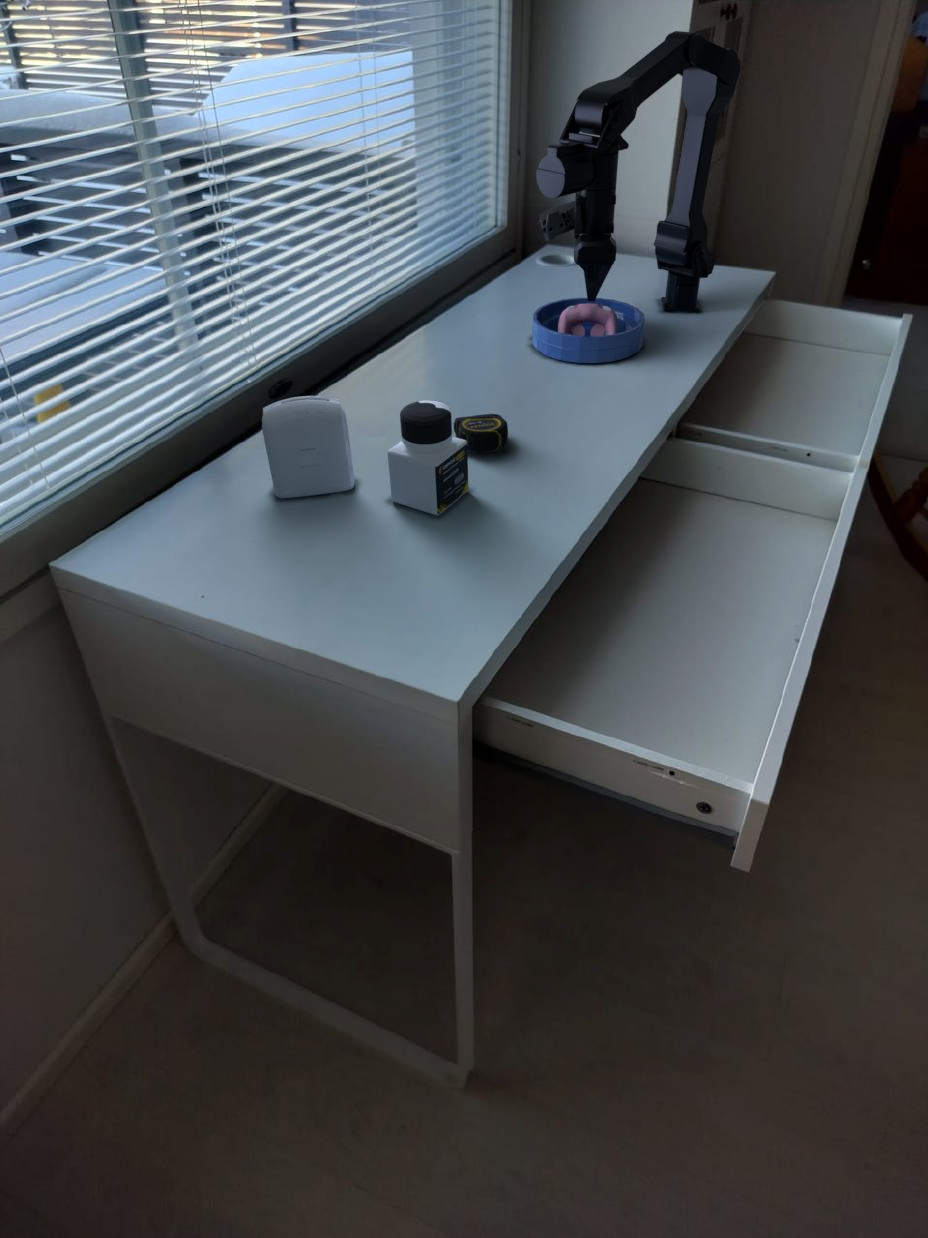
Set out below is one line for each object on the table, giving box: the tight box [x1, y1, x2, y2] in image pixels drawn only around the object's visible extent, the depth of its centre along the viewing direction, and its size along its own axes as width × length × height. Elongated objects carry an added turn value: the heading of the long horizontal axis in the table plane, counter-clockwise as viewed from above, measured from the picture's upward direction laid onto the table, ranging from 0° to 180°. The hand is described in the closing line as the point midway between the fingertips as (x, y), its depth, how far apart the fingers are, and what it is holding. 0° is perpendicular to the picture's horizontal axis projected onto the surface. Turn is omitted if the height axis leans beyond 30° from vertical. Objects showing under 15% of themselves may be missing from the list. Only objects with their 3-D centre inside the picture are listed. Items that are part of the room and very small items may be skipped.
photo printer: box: [261, 395, 356, 499], centre depth 109 cm, size 10×4×12 cm, turn 100°
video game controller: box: [558, 303, 618, 336], centre depth 147 cm, size 10×5×7 cm, turn 84°
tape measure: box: [452, 413, 509, 454], centre depth 120 cm, size 7×7×4 cm
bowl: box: [531, 297, 646, 364], centre depth 147 cm, size 18×18×4 cm
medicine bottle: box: [386, 399, 469, 516], centre depth 107 cm, size 7×7×12 cm
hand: (590, 290), depth 143 cm, fingers open, 9 cm apart
